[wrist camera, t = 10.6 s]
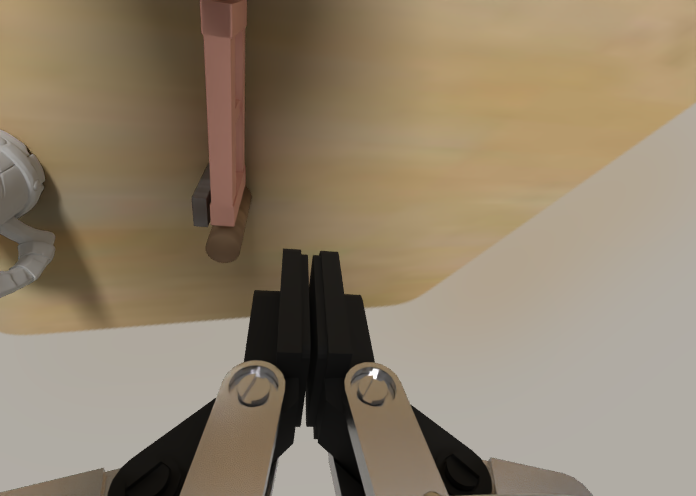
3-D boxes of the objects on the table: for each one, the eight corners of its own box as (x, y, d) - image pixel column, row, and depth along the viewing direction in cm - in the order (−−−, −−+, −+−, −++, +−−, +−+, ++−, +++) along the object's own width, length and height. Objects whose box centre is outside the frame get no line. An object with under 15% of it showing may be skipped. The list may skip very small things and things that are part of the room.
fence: (188, -232, 21) (133, -337, 14) (257, -214, 22) (236, -306, 15) (210, 205, 35) (189, 260, 28) (251, 208, 36) (240, 263, 29)
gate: (222, -6, 26) (199, -2, 20) (246, -2, 26) (231, 4, 20) (226, 181, 33) (210, 224, 28) (245, 183, 34) (234, 226, 28)
